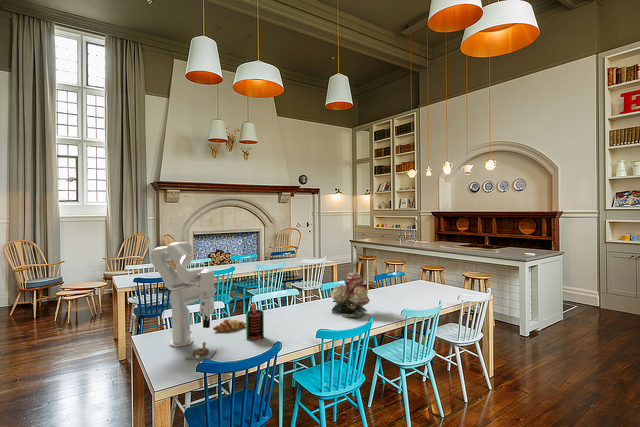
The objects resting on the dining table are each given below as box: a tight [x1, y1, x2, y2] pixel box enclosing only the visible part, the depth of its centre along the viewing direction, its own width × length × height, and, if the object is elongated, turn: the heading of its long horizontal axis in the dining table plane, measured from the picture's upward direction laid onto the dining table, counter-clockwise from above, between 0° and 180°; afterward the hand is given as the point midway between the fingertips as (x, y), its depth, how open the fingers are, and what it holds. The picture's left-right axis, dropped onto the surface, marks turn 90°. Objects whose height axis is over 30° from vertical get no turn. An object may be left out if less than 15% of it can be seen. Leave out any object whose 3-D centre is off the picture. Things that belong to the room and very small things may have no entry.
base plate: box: [185, 349, 217, 361], centre depth 184 cm, size 10×12×2 cm
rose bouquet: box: [329, 271, 370, 320], centre depth 255 cm, size 26×29×30 cm
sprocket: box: [192, 342, 210, 357], centre depth 184 cm, size 8×8×6 cm
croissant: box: [212, 318, 246, 333], centre depth 225 cm, size 21×10×8 cm, turn 120°
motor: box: [245, 303, 265, 342], centre depth 209 cm, size 10×9×20 cm
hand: (206, 327), depth 189 cm, fingers closed
